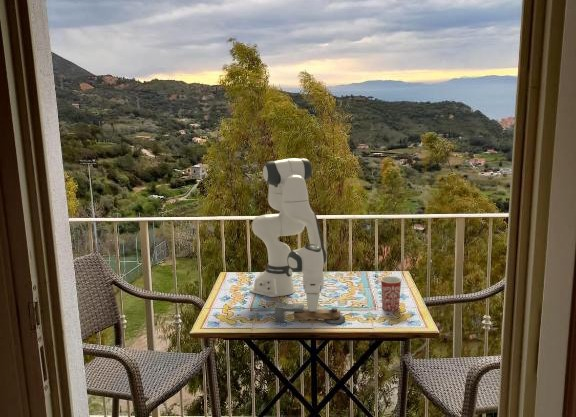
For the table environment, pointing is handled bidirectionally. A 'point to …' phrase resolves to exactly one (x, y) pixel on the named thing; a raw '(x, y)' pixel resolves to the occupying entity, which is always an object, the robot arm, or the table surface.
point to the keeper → (285, 310)
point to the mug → (390, 293)
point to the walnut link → (318, 314)
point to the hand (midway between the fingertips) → (313, 313)
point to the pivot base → (338, 321)
